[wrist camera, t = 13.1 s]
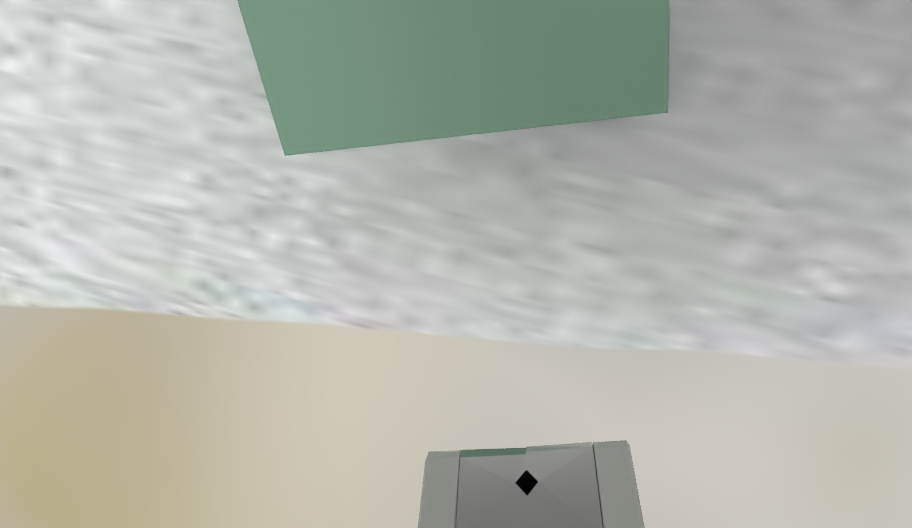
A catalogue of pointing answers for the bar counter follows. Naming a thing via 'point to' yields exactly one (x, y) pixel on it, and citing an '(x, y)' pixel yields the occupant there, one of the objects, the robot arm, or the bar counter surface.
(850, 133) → the bar counter surface
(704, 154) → the bar counter surface
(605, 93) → the board
